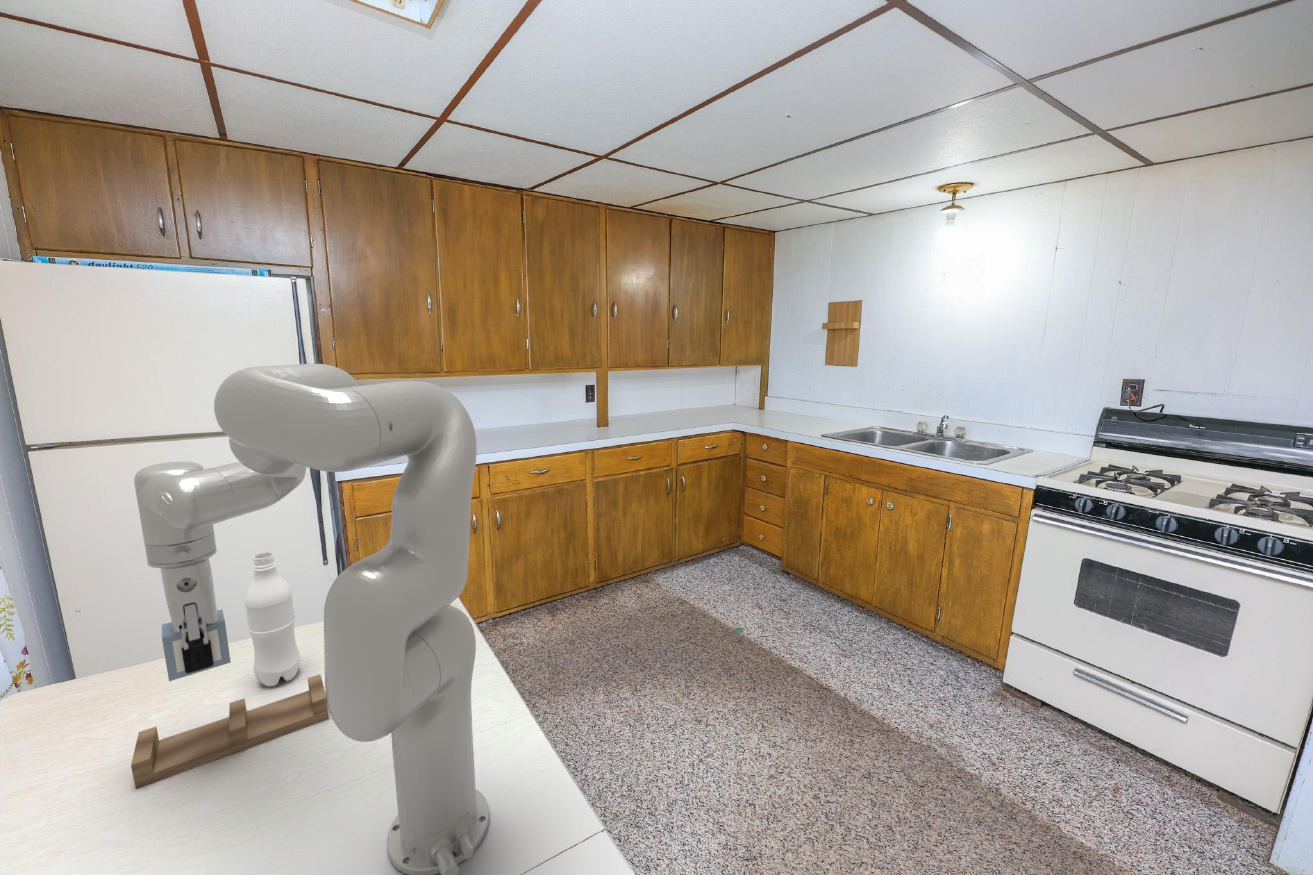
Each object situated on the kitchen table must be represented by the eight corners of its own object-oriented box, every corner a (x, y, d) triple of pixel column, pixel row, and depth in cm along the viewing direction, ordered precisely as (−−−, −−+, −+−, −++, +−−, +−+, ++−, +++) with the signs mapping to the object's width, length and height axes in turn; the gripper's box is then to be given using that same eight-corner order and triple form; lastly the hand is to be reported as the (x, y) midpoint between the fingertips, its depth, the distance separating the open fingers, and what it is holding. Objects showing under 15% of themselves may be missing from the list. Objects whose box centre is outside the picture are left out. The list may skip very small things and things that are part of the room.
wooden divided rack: (328, 718, 91) (326, 697, 90) (135, 788, 77) (130, 765, 76) (322, 693, 97) (320, 673, 97) (143, 754, 83) (138, 731, 82)
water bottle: (248, 682, 100) (229, 558, 95) (288, 662, 106) (273, 544, 101) (269, 694, 97) (251, 567, 92) (309, 673, 103) (295, 552, 98)
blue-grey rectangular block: (230, 662, 81) (224, 621, 80) (169, 681, 77) (161, 637, 75) (228, 649, 84) (222, 609, 83) (168, 666, 80) (161, 624, 78)
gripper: (219, 560, 73) (235, 678, 77) (211, 525, 85) (225, 628, 89) (144, 575, 68) (165, 700, 72) (147, 535, 80) (165, 644, 84)
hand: (198, 659), depth 80 cm, fingers closed on blue-grey rectangular block, 4 cm apart
